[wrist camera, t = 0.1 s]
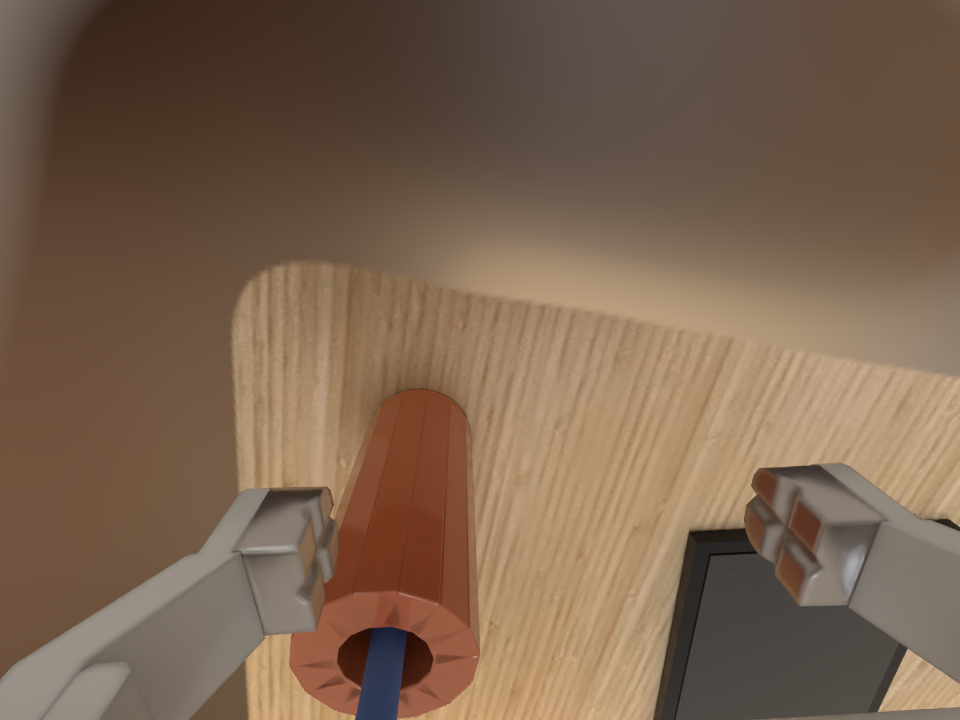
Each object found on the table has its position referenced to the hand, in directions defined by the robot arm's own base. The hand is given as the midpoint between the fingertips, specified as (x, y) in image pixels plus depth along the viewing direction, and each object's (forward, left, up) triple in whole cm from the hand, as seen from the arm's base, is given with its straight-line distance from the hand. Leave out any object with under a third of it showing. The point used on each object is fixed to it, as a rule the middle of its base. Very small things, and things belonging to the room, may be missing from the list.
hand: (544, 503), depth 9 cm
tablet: (+28, +21, -15) cm, 38 cm away
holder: (+8, -4, -15) cm, 18 cm away
